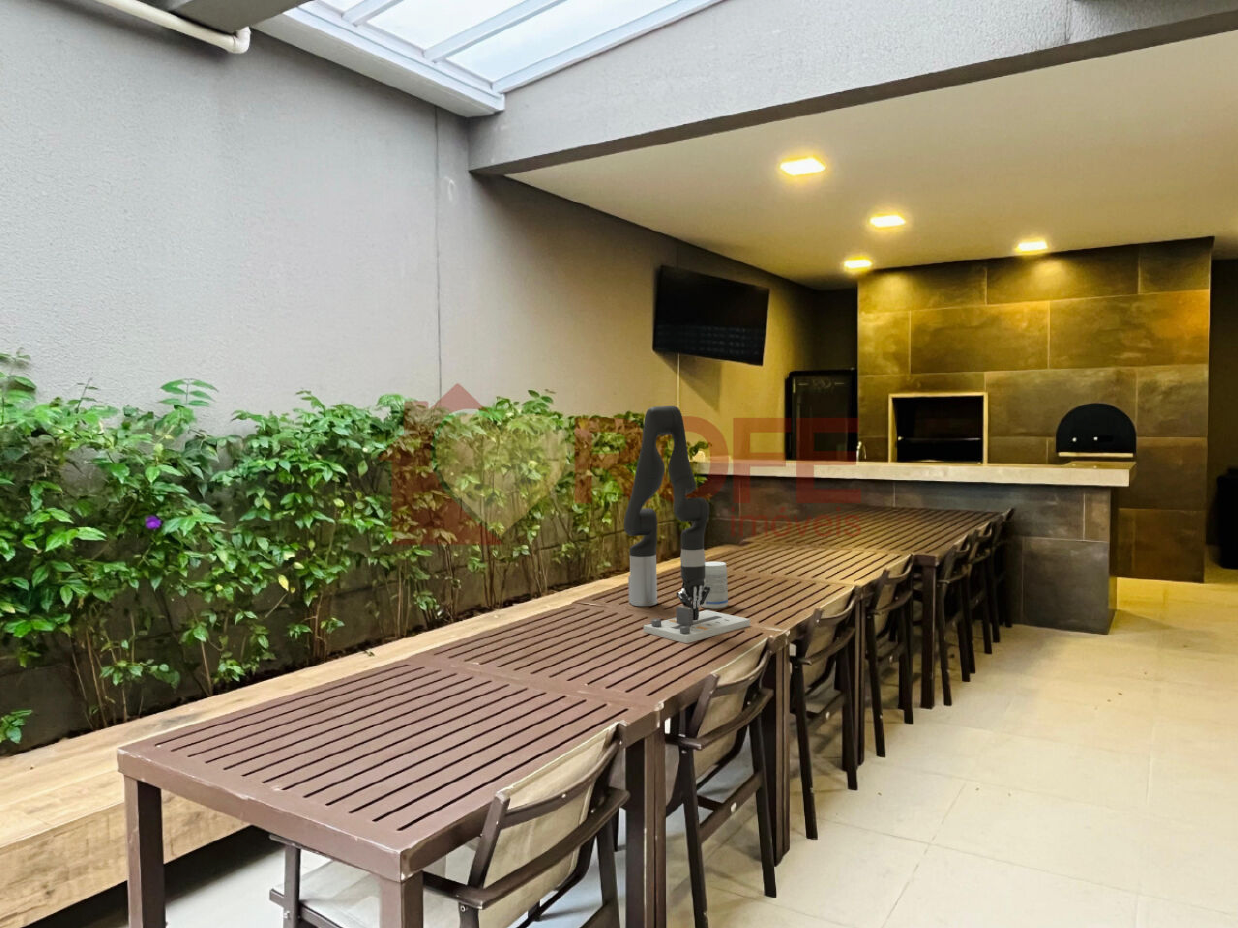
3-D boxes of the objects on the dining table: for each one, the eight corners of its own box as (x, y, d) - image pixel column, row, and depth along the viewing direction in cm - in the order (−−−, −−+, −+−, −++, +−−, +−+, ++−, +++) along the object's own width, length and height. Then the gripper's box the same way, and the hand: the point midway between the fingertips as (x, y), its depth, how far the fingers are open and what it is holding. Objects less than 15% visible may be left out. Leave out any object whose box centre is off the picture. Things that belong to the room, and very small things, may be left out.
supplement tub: (733, 605, 281) (733, 563, 280) (715, 610, 274) (715, 567, 274) (711, 601, 288) (710, 560, 287) (693, 606, 281) (693, 563, 281)
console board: (643, 632, 249) (643, 619, 249) (707, 616, 267) (706, 604, 267) (686, 643, 235) (686, 630, 235) (750, 625, 254) (749, 613, 254)
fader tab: (676, 623, 249) (676, 606, 249) (681, 622, 250) (681, 605, 250) (688, 626, 245) (688, 608, 245) (693, 625, 247) (692, 607, 246)
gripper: (698, 559, 257) (700, 614, 257) (668, 564, 248) (669, 621, 249) (716, 561, 251) (717, 618, 252) (686, 567, 242) (687, 626, 243)
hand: (694, 619), depth 250 cm, fingers closed
